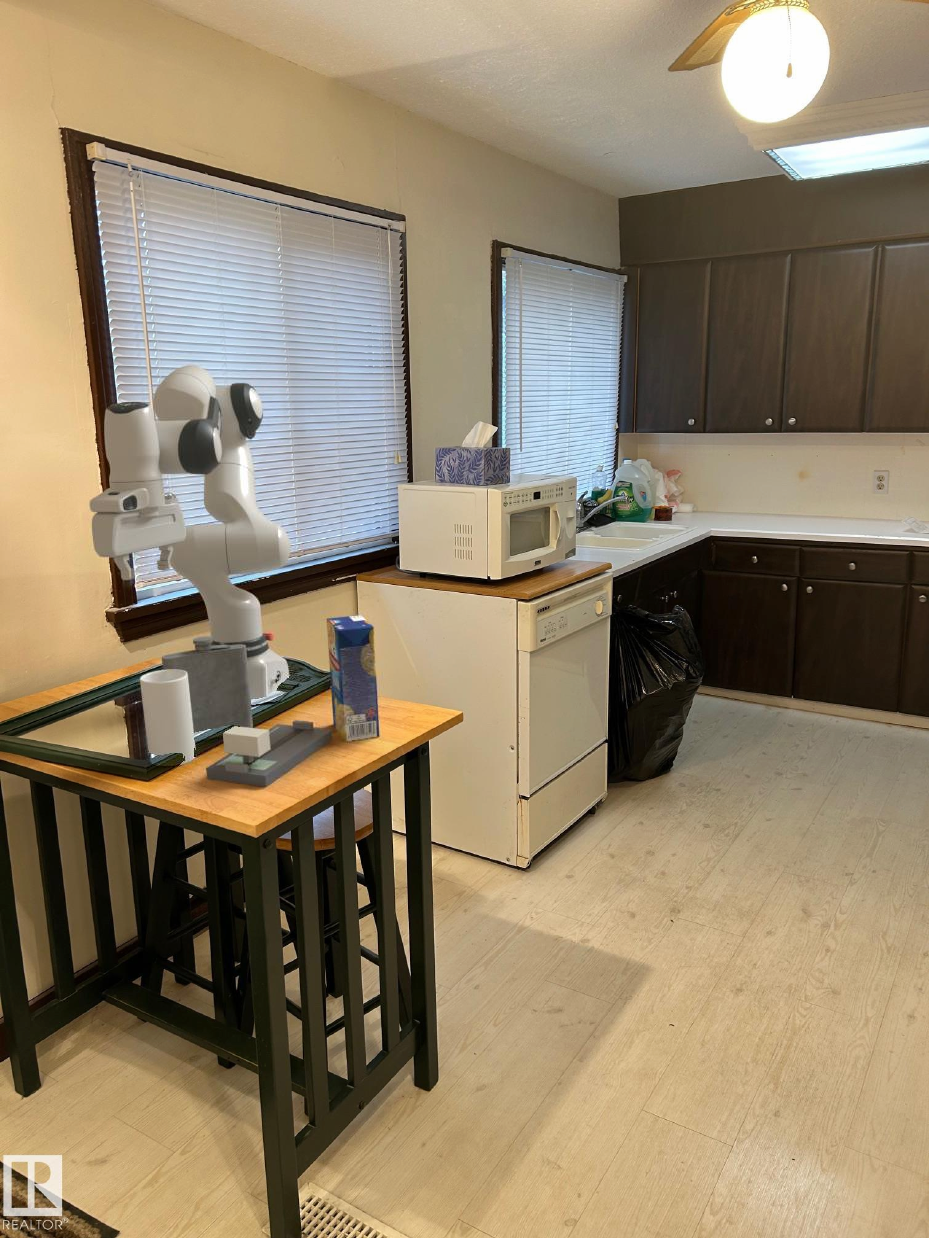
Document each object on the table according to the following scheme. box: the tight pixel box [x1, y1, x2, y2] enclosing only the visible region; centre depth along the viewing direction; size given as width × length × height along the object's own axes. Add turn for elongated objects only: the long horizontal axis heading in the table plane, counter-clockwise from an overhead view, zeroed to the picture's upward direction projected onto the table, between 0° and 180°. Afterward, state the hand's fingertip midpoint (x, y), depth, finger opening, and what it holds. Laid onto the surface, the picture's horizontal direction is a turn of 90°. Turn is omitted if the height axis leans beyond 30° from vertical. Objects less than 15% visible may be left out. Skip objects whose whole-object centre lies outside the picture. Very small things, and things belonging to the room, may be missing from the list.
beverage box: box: [326, 614, 380, 743], centre depth 174 cm, size 7×11×22 cm, turn 20°
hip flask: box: [161, 636, 254, 733], centre depth 174 cm, size 16×4×20 cm, turn 119°
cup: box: [139, 669, 196, 766], centre depth 163 cm, size 8×8×16 cm
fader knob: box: [222, 726, 270, 763], centre depth 156 cm, size 4×7×6 cm, turn 69°
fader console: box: [205, 719, 333, 788], centre depth 164 cm, size 23×12×3 cm, turn 159°
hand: (146, 574), depth 160 cm, fingers open, 8 cm apart
